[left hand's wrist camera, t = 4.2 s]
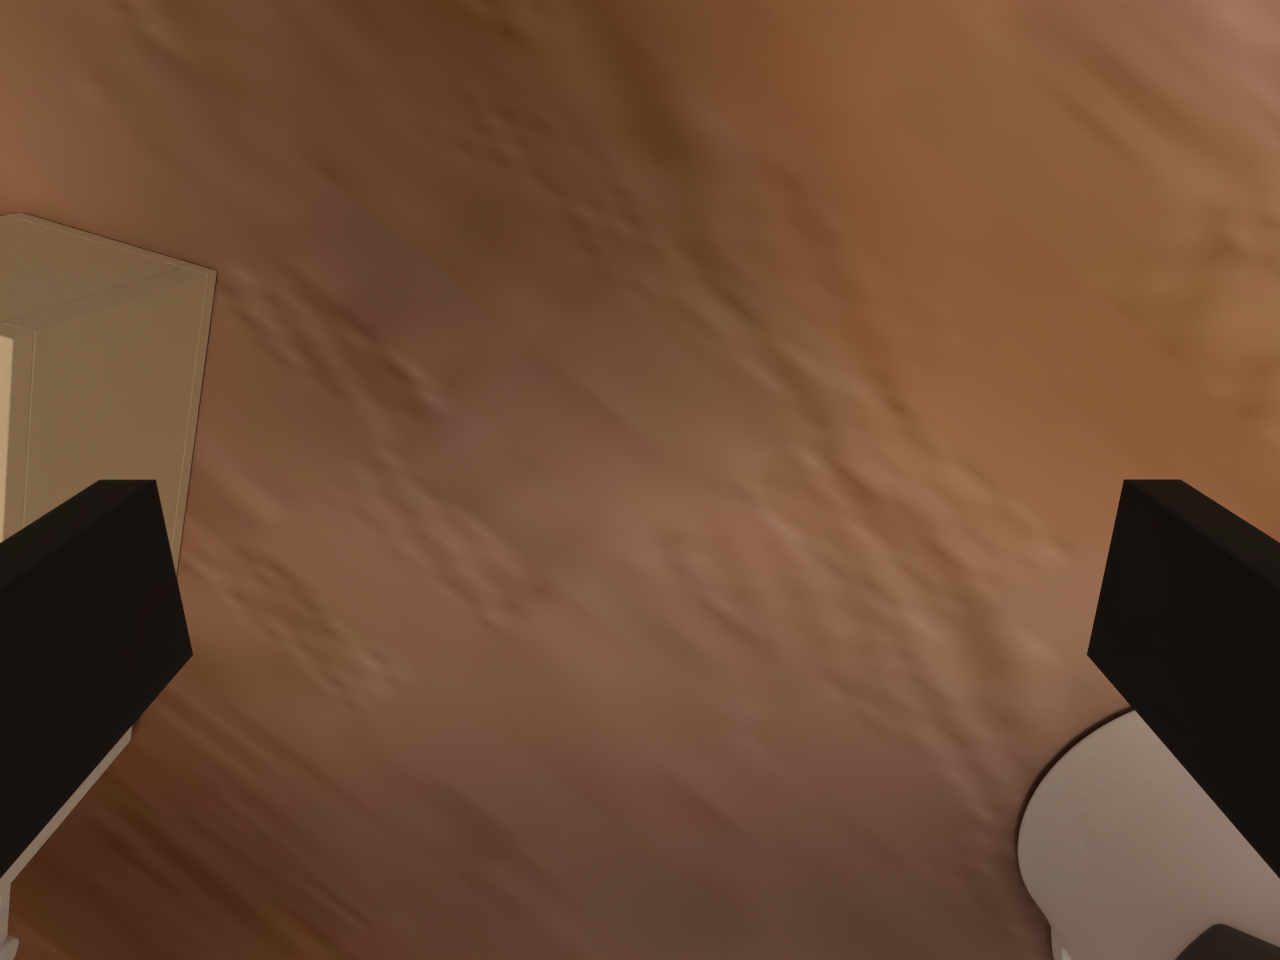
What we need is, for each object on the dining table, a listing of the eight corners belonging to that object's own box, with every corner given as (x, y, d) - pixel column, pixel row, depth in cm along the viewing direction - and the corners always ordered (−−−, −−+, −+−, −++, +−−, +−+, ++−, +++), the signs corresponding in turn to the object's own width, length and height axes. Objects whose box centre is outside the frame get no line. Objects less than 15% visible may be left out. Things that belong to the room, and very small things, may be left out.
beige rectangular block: (164, 669, 37) (-15, 872, 27) (-1, 628, 36) (-248, 820, 26) (217, 270, 31) (12, 339, 21) (21, 211, 30) (-289, 253, 20)
